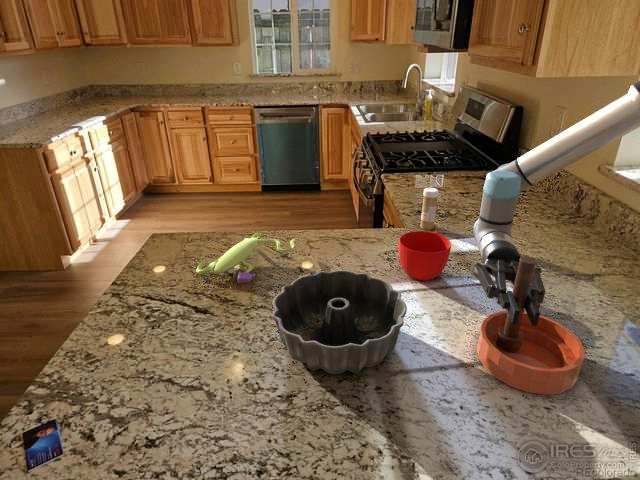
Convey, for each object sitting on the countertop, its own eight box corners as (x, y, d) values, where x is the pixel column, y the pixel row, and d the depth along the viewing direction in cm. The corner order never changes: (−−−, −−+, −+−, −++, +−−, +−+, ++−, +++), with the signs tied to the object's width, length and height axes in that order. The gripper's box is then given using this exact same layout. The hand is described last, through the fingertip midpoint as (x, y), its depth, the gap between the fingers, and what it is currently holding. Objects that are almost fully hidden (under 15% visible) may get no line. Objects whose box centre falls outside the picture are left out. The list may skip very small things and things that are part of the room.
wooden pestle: (521, 342, 83) (543, 257, 75) (518, 356, 80) (540, 268, 72) (498, 335, 85) (516, 251, 77) (493, 348, 82) (512, 262, 74)
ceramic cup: (455, 264, 117) (461, 231, 113) (438, 293, 104) (442, 258, 100) (411, 253, 123) (414, 222, 119) (388, 280, 110) (391, 245, 106)
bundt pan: (259, 383, 78) (255, 340, 73) (288, 302, 101) (286, 266, 97) (405, 398, 74) (410, 353, 70) (400, 310, 98) (404, 273, 94)
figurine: (305, 256, 122) (305, 238, 120) (233, 296, 104) (231, 276, 101) (261, 238, 133) (260, 222, 131) (189, 272, 114) (186, 253, 112)
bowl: (577, 351, 85) (585, 327, 82) (573, 412, 71) (583, 385, 69) (486, 324, 93) (491, 301, 90) (467, 374, 80) (471, 349, 77)
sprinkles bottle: (417, 226, 141) (421, 188, 135) (430, 225, 142) (434, 186, 136) (423, 232, 137) (428, 192, 131) (436, 230, 138) (441, 191, 132)
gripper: (533, 273, 94) (569, 341, 74) (460, 267, 97) (475, 330, 76) (541, 242, 91) (581, 304, 70) (465, 237, 94) (482, 295, 73)
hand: (525, 318), depth 73 cm, fingers closed on wooden pestle, 3 cm apart
